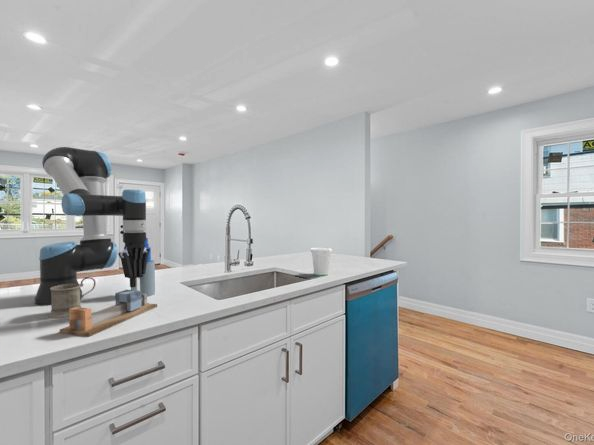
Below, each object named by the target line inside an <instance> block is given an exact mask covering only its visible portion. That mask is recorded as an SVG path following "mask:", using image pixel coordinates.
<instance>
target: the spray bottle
mask: <svg viewBox="0 0 594 445" xmlns="http://www.w3.org/2000/svg"><path fill="white" fill-rule="evenodd" d="M144 244H145V248H147V249H150V252H149V254H148V259H147V265H146V271H145V274H143V275H144V276H143V277H141V285H140V291H141V293H143V294H147V298H148V297H151V296H155V294H156V279H155V278H156V271H155V270H156V268H155V267H156V263H155V260H152V255H151V254H152V249H151V248H152V247H151V246H150V245H149V239H148V237H146V242H144Z"/></svg>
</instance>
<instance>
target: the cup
mask: <svg viewBox="0 0 594 445" xmlns="http://www.w3.org/2000/svg"><path fill="white" fill-rule="evenodd" d="M332 250H333V249H332V248H330V247H311V248H310V253H311V254H312V255H311V256H312V264H313V276H318V277H325V276H329V269H330V260H331V254H332V252H333V251H332Z"/></svg>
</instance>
